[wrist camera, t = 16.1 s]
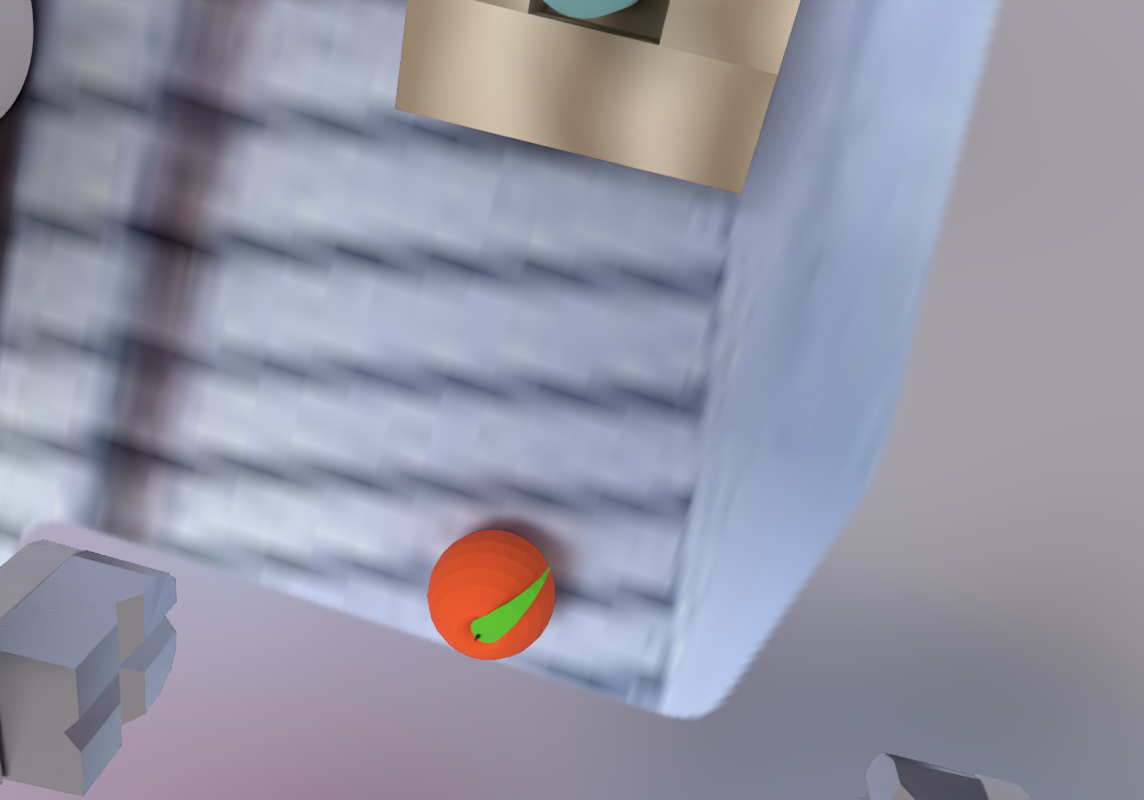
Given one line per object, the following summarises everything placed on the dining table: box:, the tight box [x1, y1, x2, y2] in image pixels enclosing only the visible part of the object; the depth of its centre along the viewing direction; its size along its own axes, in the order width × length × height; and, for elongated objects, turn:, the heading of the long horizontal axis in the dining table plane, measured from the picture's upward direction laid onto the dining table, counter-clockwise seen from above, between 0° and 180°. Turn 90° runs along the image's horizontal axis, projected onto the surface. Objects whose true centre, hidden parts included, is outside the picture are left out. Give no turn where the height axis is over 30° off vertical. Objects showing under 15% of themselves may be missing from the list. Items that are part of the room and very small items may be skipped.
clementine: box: [427, 530, 555, 660], centre depth 47 cm, size 8×7×7 cm
